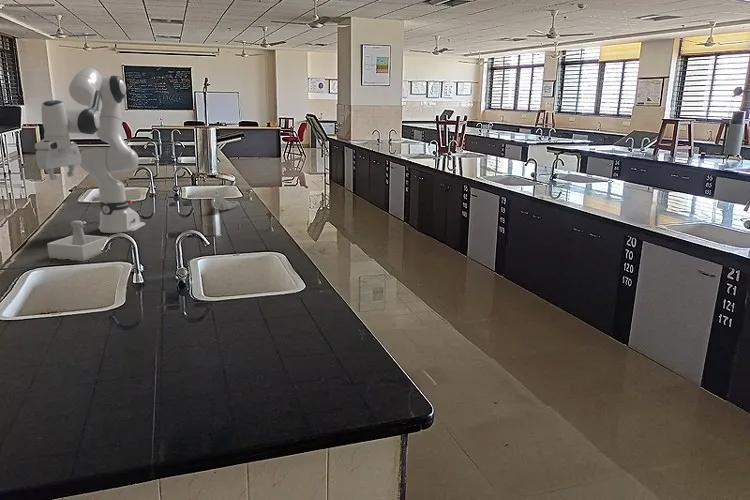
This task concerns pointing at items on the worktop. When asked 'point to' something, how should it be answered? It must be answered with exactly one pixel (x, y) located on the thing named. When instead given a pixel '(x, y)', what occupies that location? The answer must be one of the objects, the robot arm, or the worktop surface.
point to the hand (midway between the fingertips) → (62, 178)
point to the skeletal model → (222, 202)
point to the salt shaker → (78, 233)
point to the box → (76, 248)
